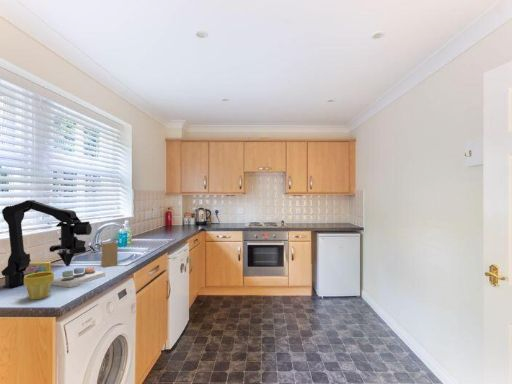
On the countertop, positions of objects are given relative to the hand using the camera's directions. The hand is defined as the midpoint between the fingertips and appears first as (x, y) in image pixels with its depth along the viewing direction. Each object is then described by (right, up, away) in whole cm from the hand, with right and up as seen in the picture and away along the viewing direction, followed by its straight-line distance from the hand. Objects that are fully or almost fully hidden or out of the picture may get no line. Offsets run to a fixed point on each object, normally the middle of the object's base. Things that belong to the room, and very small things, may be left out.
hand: (67, 266), depth 138 cm
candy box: (-25, -9, +10) cm, 29 cm away
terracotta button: (+4, -6, +11) cm, 13 cm away
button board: (+2, -9, +6) cm, 11 cm away
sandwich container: (0, -10, +38) cm, 40 cm away
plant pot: (0, -9, -18) cm, 20 cm away
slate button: (+2, -5, +6) cm, 8 cm away
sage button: (0, -5, 0) cm, 5 cm away
